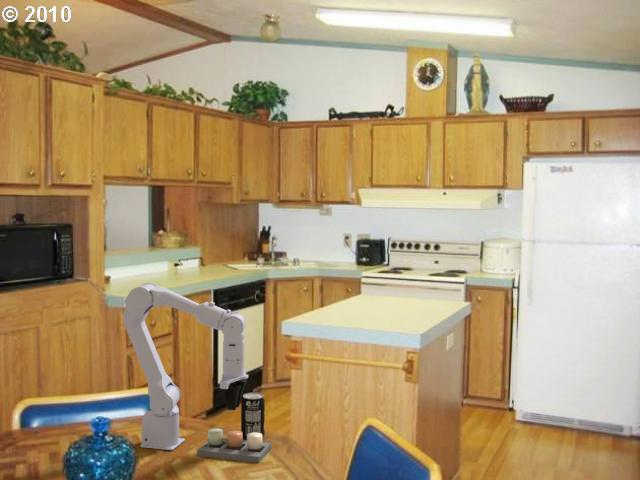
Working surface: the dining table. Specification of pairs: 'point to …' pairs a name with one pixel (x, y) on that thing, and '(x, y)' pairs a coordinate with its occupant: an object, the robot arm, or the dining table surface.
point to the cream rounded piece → (254, 440)
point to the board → (234, 451)
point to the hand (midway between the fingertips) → (233, 408)
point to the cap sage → (215, 436)
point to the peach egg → (234, 438)
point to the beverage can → (252, 414)
